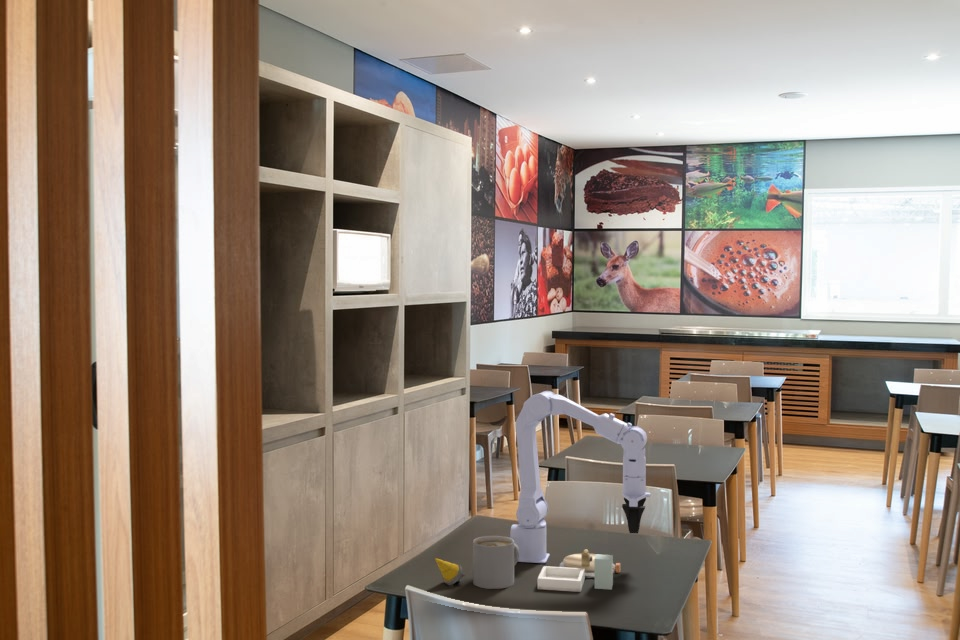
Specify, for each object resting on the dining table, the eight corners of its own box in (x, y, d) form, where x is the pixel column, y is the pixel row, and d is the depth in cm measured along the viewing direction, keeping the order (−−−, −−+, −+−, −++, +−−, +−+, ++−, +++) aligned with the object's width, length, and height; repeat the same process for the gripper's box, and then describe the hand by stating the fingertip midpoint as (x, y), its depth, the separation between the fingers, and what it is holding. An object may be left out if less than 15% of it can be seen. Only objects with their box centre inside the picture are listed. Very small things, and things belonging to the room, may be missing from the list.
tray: (537, 589, 205) (537, 578, 205) (543, 576, 215) (543, 566, 215) (580, 591, 203) (580, 581, 203) (584, 578, 213) (584, 568, 213)
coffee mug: (488, 591, 204) (488, 548, 204) (465, 580, 212) (464, 539, 212) (533, 581, 211) (533, 540, 211) (509, 571, 219) (509, 531, 219)
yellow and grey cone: (467, 588, 208) (441, 564, 204) (450, 593, 210) (424, 570, 206) (471, 569, 212) (445, 545, 208) (455, 575, 215) (428, 552, 211)
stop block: (594, 588, 206) (594, 558, 206) (596, 583, 210) (595, 554, 209) (611, 589, 205) (611, 559, 205) (612, 584, 209) (612, 555, 209)
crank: (566, 556, 228) (566, 537, 228) (613, 559, 225) (613, 540, 225) (560, 571, 215) (560, 551, 215) (609, 574, 213) (609, 553, 212)
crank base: (556, 576, 215) (556, 568, 215) (563, 560, 229) (563, 553, 229) (618, 579, 212) (618, 572, 212) (621, 563, 226) (621, 556, 226)
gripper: (650, 481, 213) (650, 537, 213) (650, 470, 227) (650, 523, 227) (620, 480, 214) (620, 535, 214) (623, 469, 228) (623, 521, 229)
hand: (634, 529), depth 221 cm, fingers open, 7 cm apart
